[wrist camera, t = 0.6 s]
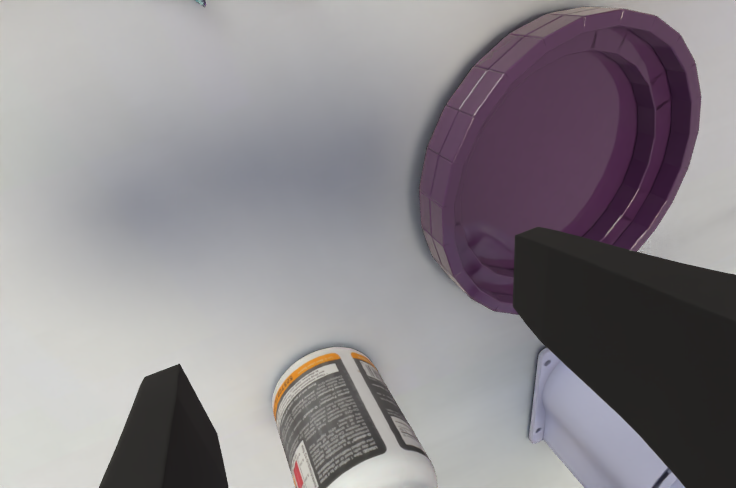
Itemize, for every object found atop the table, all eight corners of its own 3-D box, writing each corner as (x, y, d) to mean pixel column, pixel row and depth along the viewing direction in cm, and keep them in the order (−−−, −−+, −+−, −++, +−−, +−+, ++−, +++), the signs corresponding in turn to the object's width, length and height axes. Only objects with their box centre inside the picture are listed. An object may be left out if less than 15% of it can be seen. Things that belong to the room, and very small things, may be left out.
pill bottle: (266, 434, 24) (320, 654, 16) (274, 348, 22) (343, 556, 14) (364, 415, 27) (454, 599, 19) (382, 335, 24) (494, 507, 16)
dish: (624, 246, 29) (662, 266, 27) (421, 320, 25) (446, 351, 23) (680, -14, 21) (738, -14, 19) (403, 37, 17) (437, 43, 15)
